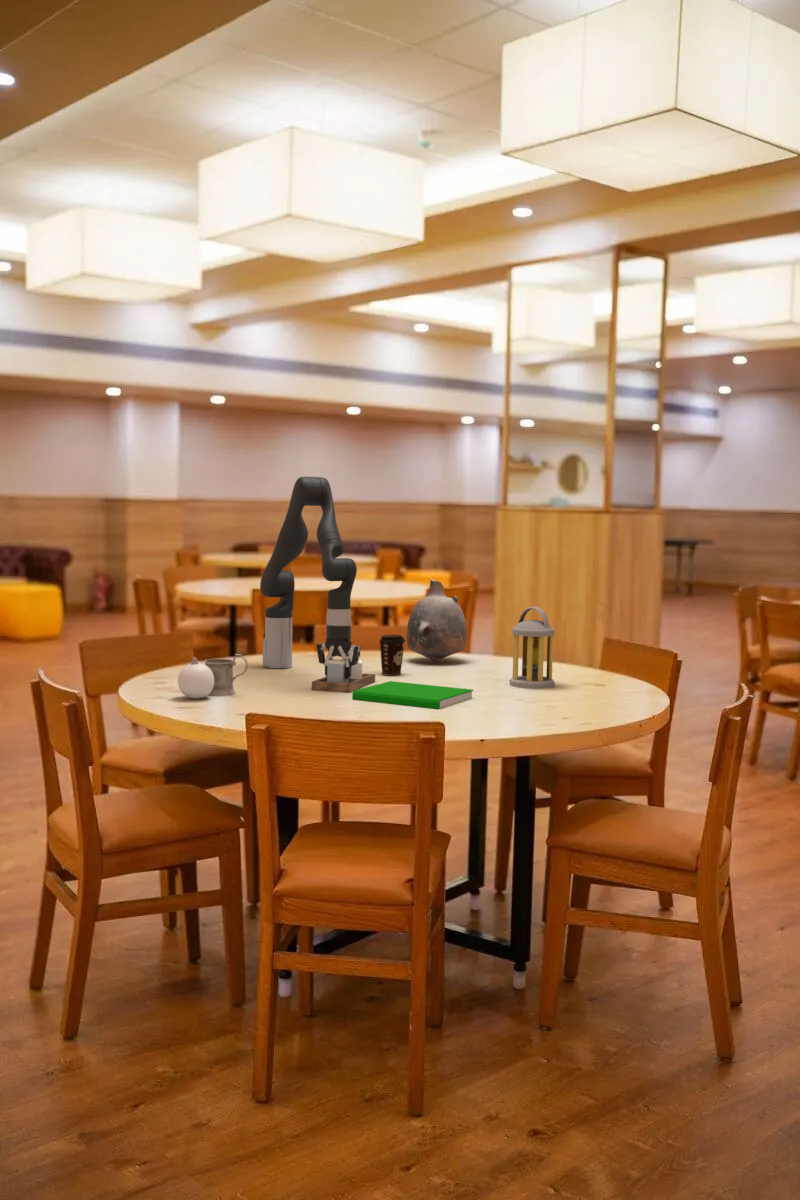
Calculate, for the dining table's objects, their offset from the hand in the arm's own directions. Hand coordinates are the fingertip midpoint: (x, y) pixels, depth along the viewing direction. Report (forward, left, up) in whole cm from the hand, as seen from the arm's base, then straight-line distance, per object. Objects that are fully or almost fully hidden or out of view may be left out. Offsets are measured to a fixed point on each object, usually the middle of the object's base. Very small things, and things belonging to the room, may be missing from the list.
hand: (338, 677), depth 366 cm
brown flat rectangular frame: (0, +5, -3) cm, 6 cm away
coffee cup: (+6, +34, -3) cm, 35 cm away
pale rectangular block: (0, 0, -3) cm, 3 cm away
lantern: (+54, +31, -3) cm, 62 cm away
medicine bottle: (0, +11, -3) cm, 11 cm away
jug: (+11, +69, -3) cm, 70 cm away
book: (+27, -9, -4) cm, 29 cm away
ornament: (-31, -33, -3) cm, 46 cm away
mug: (-27, -22, -3) cm, 35 cm away
